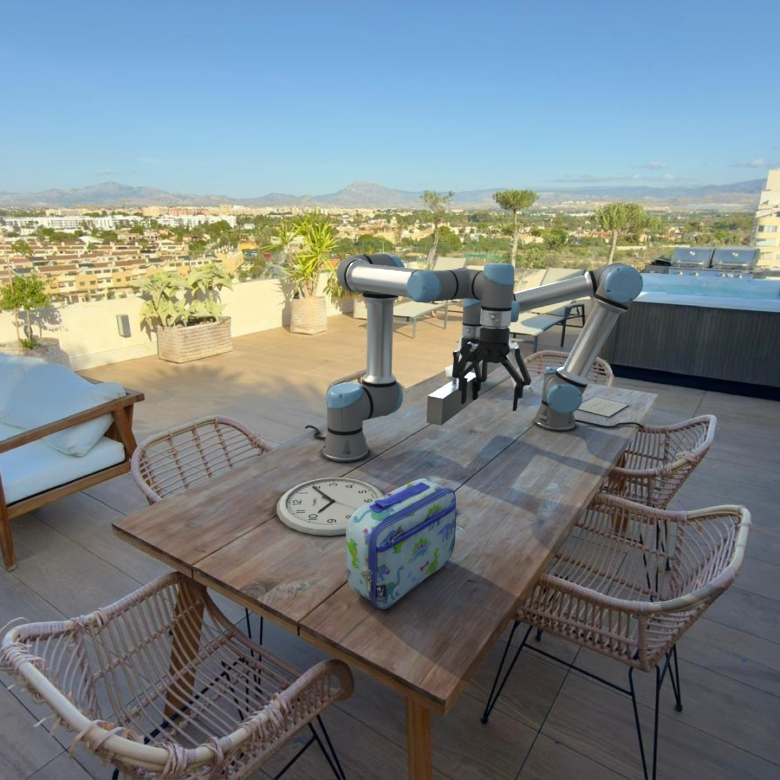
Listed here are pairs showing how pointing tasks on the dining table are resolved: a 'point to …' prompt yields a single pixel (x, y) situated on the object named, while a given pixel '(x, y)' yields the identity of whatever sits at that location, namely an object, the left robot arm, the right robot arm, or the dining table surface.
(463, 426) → the dining table surface
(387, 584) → the lunch box
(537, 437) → the dining table surface
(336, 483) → the wall clock
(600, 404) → the invitation card
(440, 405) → the bar
